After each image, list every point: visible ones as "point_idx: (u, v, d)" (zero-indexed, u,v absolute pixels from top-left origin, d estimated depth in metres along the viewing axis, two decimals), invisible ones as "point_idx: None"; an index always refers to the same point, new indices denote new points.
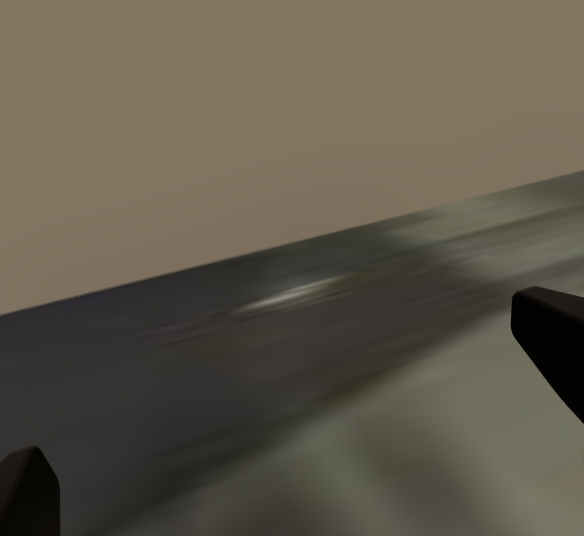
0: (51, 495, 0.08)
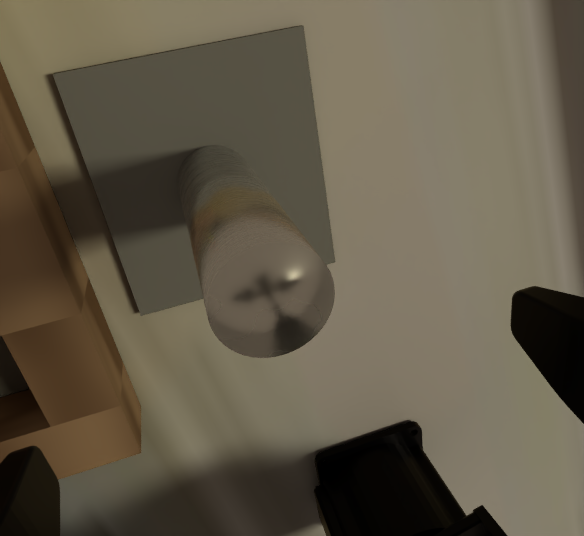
0: (51, 495, 0.08)
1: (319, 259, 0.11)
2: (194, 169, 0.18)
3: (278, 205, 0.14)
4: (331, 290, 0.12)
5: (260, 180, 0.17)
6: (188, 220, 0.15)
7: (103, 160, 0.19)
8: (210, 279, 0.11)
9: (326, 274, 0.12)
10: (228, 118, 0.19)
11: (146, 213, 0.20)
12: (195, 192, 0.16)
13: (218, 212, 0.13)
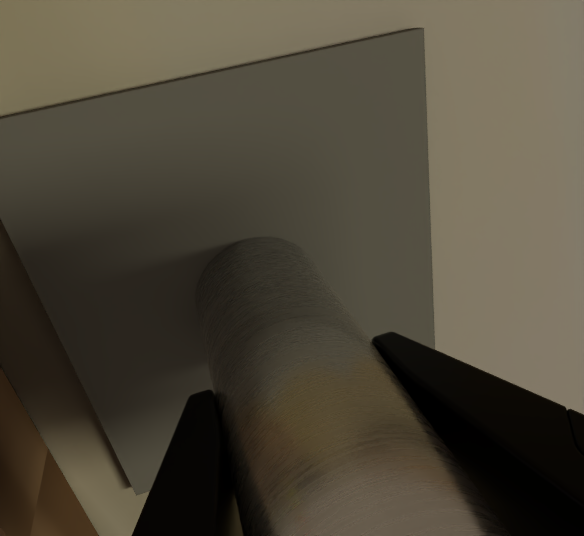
0: None
1: None
2: (231, 305, 0.09)
3: (455, 467, 0.06)
4: None
5: (365, 337, 0.09)
6: (232, 459, 0.07)
7: (64, 274, 0.10)
8: None
9: None
10: (285, 192, 0.11)
11: (143, 351, 0.12)
12: (244, 386, 0.07)
13: None
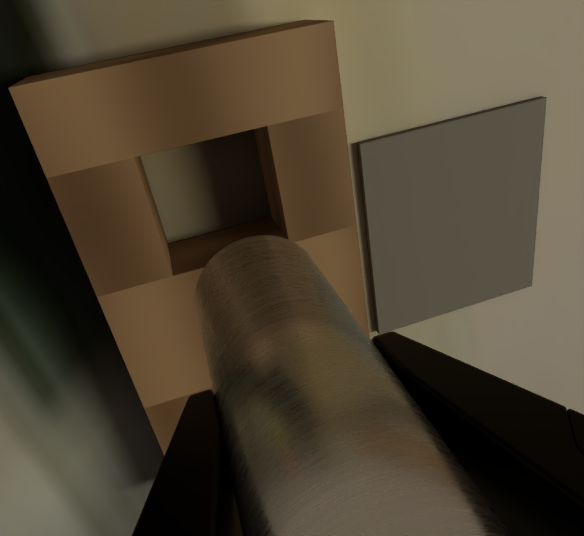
0: None
1: None
2: (231, 303, 0.09)
3: (455, 465, 0.06)
4: None
5: (365, 335, 0.09)
6: (232, 458, 0.07)
7: (380, 210, 0.23)
8: None
9: None
10: (477, 173, 0.23)
11: (401, 251, 0.24)
12: (243, 384, 0.07)
13: None
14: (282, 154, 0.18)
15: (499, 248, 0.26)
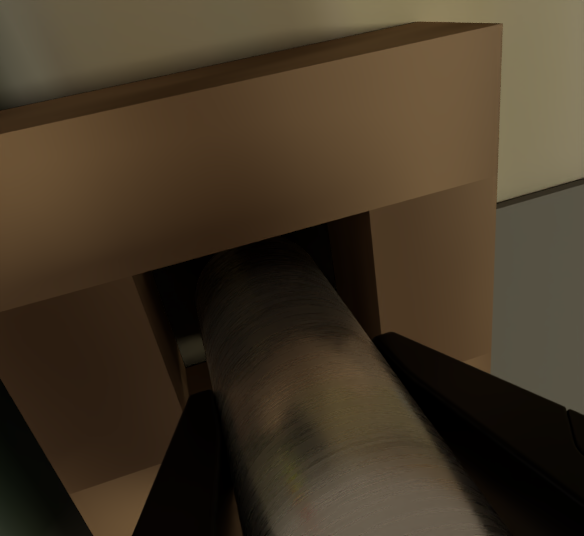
0: None
1: None
2: (231, 303, 0.09)
3: (456, 465, 0.06)
4: None
5: (365, 335, 0.09)
6: (232, 458, 0.07)
7: (498, 304, 0.15)
8: None
9: None
10: None
11: (520, 355, 0.17)
12: (243, 384, 0.07)
13: None
14: (389, 255, 0.10)
15: None
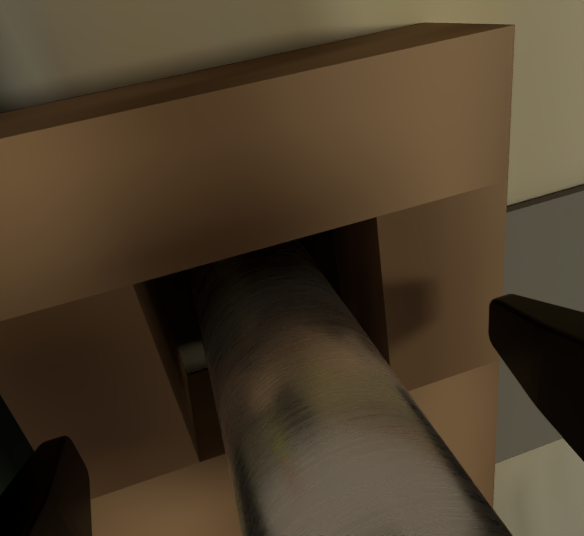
0: (82, 485, 0.08)
1: None
2: (224, 283, 0.10)
3: (421, 418, 0.07)
4: None
5: (347, 311, 0.09)
6: (223, 418, 0.08)
7: None
8: None
9: None
10: None
11: None
12: (234, 353, 0.08)
13: (307, 474, 0.06)
14: (397, 261, 0.10)
15: None
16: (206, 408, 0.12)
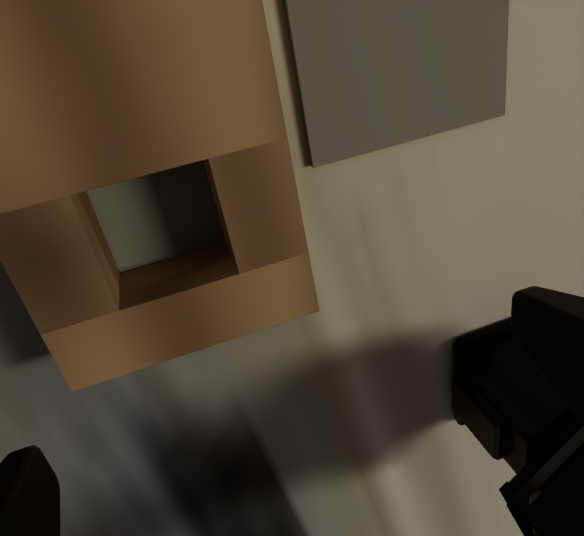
0: (51, 495, 0.08)
1: None
2: None
3: None
4: None
5: None
6: None
7: None
8: None
9: None
10: None
11: (334, 44, 0.19)
12: None
13: None
14: None
15: (461, 53, 0.20)
16: None
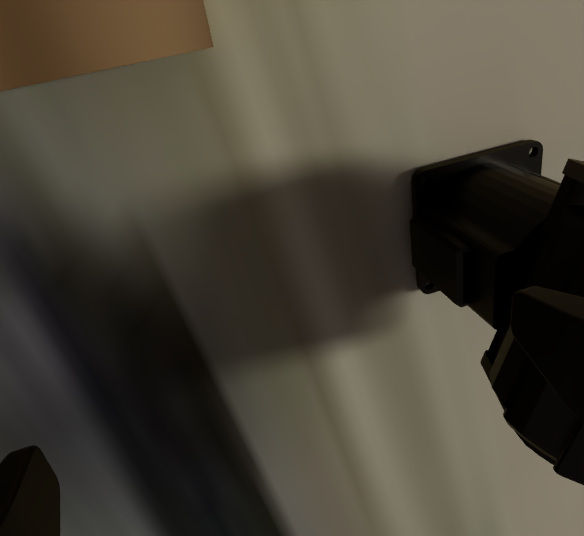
0: (51, 495, 0.08)
1: None
2: None
3: None
4: None
5: None
6: None
7: None
8: None
9: None
10: None
11: None
12: None
13: None
14: None
15: None
16: None
